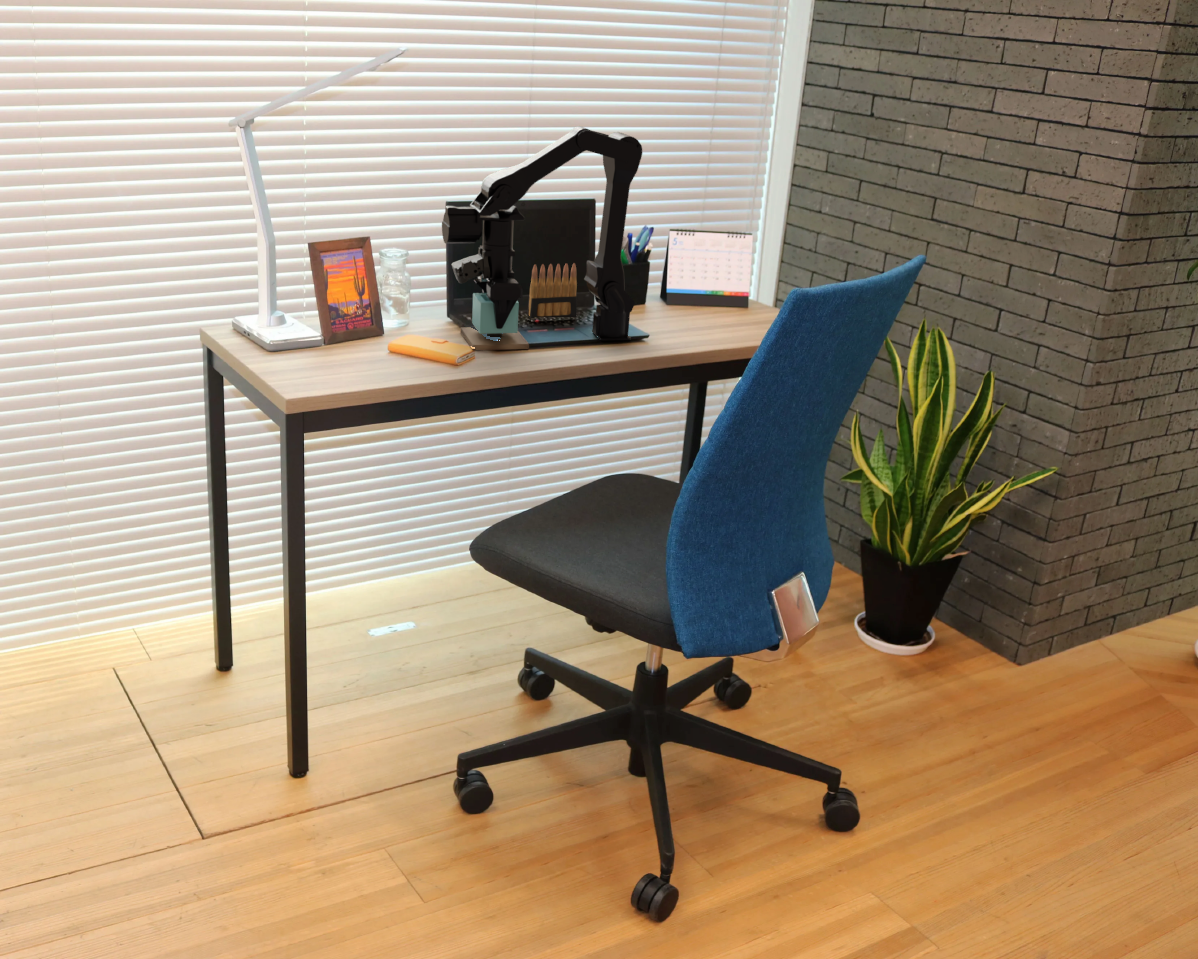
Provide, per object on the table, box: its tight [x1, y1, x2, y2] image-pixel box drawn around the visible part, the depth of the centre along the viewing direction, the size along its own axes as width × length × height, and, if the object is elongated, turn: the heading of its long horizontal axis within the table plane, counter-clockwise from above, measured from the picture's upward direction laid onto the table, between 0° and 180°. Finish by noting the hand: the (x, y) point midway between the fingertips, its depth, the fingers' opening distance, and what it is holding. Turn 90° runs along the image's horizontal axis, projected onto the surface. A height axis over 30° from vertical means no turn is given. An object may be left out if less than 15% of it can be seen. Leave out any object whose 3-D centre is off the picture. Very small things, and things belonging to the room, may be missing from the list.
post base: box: [460, 326, 530, 351], centre depth 224 cm, size 11×12×6 cm
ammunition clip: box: [526, 262, 578, 318], centre depth 240 cm, size 11×2×12 cm, turn 115°
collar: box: [471, 292, 520, 334], centre depth 223 cm, size 7×7×6 cm
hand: (494, 323), depth 224 cm, fingers closed on collar, 7 cm apart
